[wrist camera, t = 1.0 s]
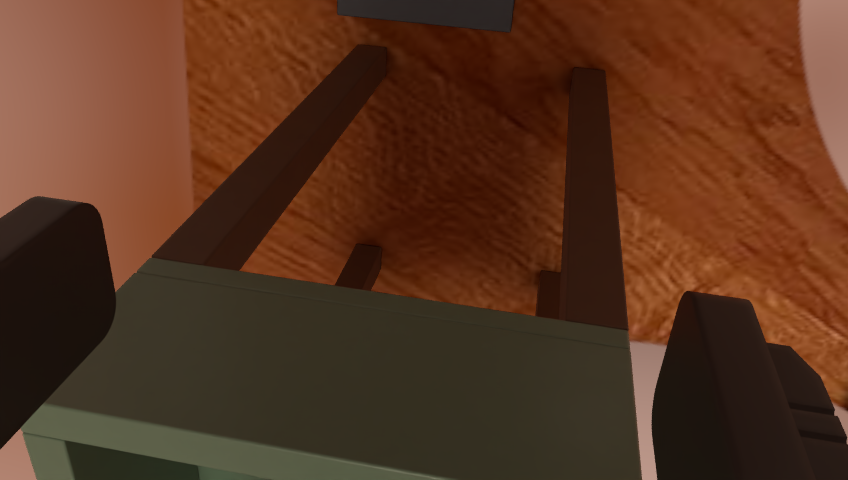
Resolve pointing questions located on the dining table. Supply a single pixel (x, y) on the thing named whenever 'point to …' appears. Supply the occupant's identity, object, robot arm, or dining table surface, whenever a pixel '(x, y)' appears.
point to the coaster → (435, 12)
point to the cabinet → (353, 344)
